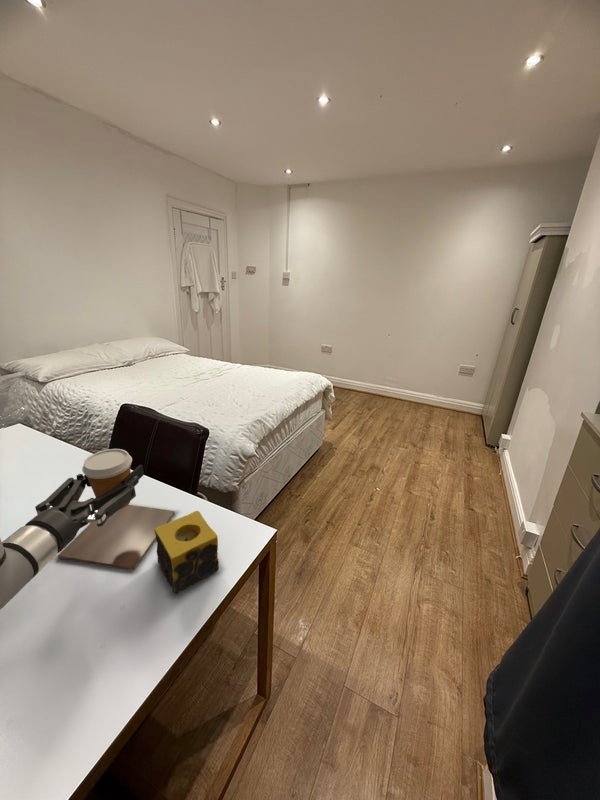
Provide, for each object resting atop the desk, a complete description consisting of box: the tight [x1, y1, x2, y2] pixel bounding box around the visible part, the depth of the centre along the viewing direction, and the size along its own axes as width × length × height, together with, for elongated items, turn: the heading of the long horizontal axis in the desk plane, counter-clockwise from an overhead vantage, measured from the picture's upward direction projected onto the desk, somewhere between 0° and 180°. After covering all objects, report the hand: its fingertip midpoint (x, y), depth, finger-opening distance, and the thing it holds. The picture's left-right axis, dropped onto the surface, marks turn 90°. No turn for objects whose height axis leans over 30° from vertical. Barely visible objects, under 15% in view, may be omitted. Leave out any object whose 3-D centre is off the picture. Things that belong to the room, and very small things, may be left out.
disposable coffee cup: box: [81, 448, 133, 510], centre depth 72 cm, size 10×10×12 cm
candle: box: [154, 510, 220, 595], centre depth 69 cm, size 10×10×10 cm
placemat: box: [57, 504, 176, 571], centre depth 78 cm, size 18×18×1 cm
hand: (124, 467), depth 77 cm, fingers closed on disposable coffee cup, 8 cm apart
